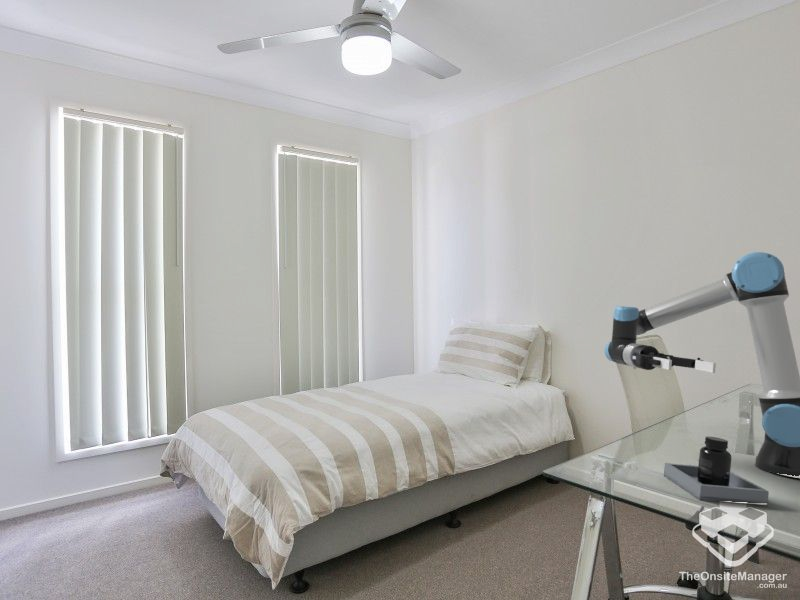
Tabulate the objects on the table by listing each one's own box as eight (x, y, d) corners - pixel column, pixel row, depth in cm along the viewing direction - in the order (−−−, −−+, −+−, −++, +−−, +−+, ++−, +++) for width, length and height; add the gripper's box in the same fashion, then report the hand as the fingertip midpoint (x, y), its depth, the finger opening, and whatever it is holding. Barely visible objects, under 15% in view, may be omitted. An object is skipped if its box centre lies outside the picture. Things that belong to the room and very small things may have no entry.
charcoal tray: (723, 480, 131) (724, 468, 131) (767, 506, 115) (768, 491, 115) (663, 475, 131) (664, 462, 131) (699, 500, 115) (700, 485, 115)
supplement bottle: (734, 493, 119) (738, 444, 119) (703, 488, 120) (707, 440, 120) (721, 483, 125) (725, 437, 125) (692, 479, 127) (696, 433, 127)
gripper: (675, 370, 155) (731, 382, 134) (604, 366, 151) (650, 377, 130) (677, 347, 155) (733, 355, 134) (606, 342, 151) (652, 349, 130)
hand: (692, 366), depth 132 cm, fingers open, 13 cm apart
